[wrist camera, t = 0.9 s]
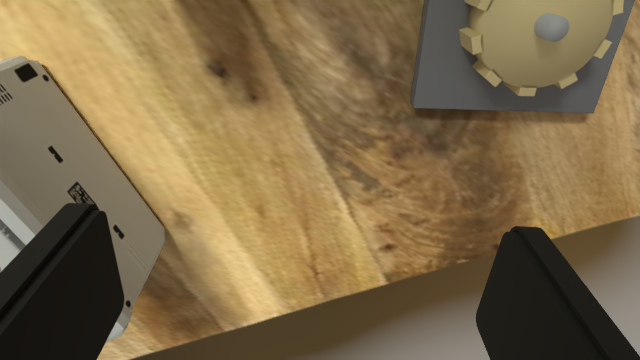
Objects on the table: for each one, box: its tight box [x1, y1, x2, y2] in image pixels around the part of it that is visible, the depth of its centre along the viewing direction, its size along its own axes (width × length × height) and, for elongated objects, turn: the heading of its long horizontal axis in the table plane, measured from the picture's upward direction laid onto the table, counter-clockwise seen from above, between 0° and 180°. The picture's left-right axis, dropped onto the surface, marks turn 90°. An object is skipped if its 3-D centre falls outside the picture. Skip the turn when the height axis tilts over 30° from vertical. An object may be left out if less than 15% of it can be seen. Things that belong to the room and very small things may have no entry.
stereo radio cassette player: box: [0, 56, 165, 343], centre depth 31 cm, size 21×8×20 cm, turn 23°
